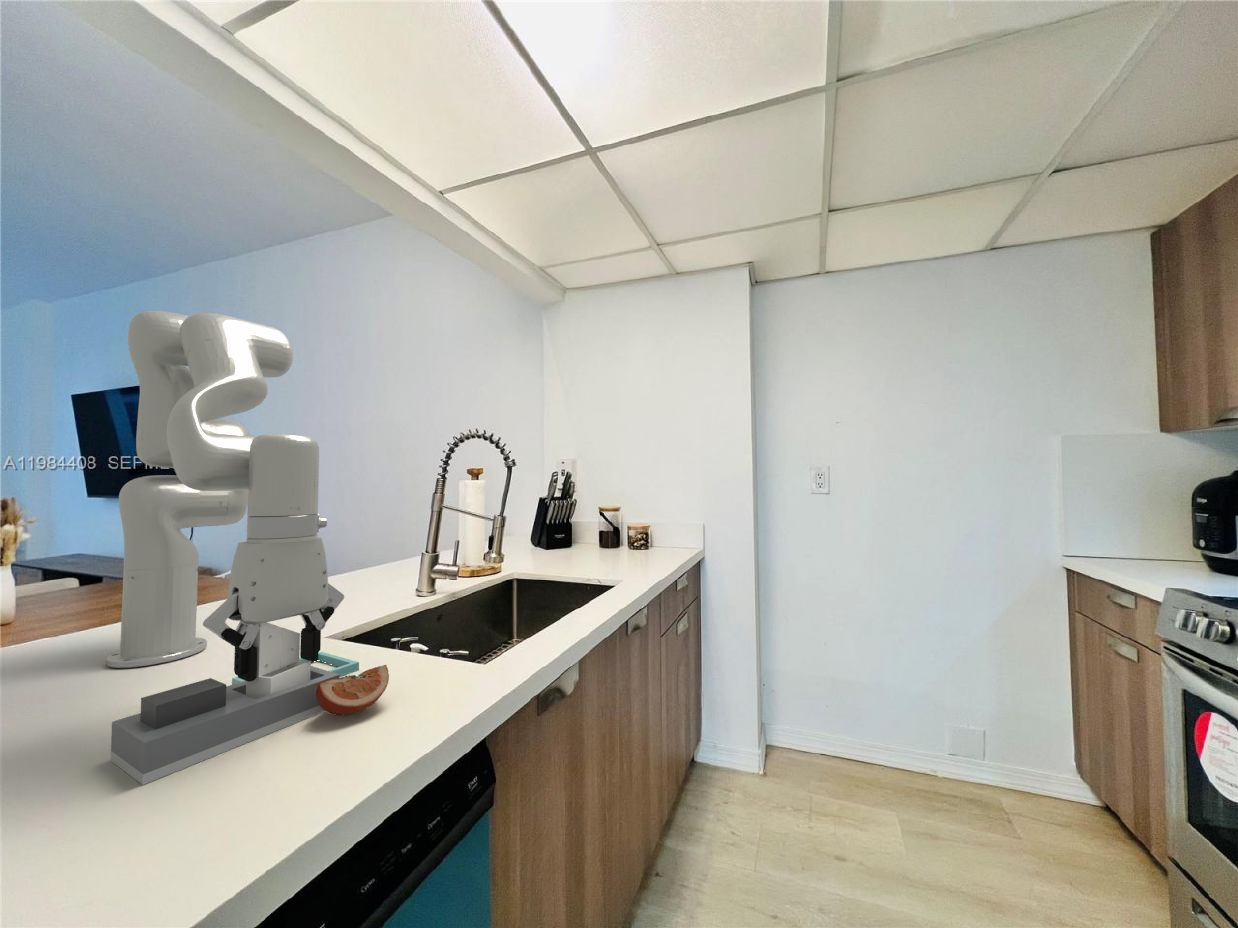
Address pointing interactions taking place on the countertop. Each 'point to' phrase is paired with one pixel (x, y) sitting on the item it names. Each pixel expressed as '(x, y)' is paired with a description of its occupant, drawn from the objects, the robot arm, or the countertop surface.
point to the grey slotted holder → (205, 723)
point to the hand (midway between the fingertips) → (279, 667)
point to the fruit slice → (352, 691)
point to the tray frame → (343, 664)
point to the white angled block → (277, 661)
